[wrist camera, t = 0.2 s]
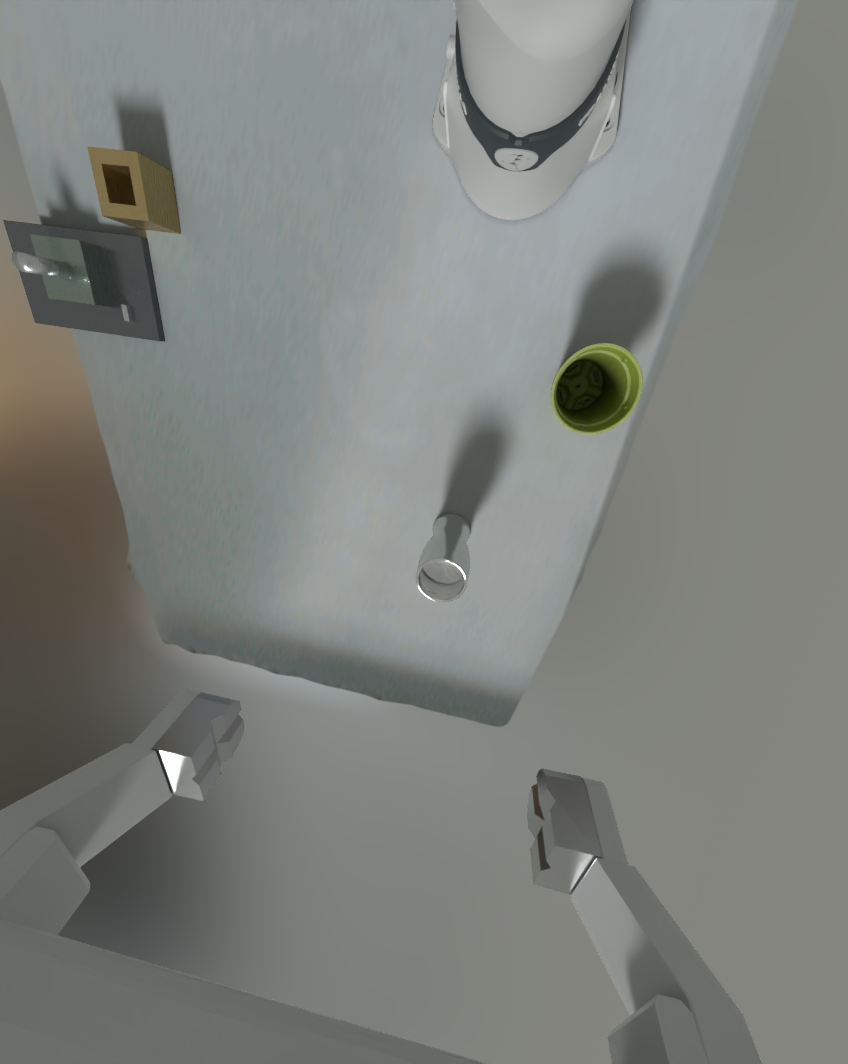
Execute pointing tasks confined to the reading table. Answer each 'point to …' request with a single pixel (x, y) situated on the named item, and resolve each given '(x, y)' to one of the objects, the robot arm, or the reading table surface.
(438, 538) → the beer glass
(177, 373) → the reading table surface
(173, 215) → the tan square sleeve
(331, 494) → the reading table surface
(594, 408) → the plant pot
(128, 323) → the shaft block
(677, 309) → the reading table surface
